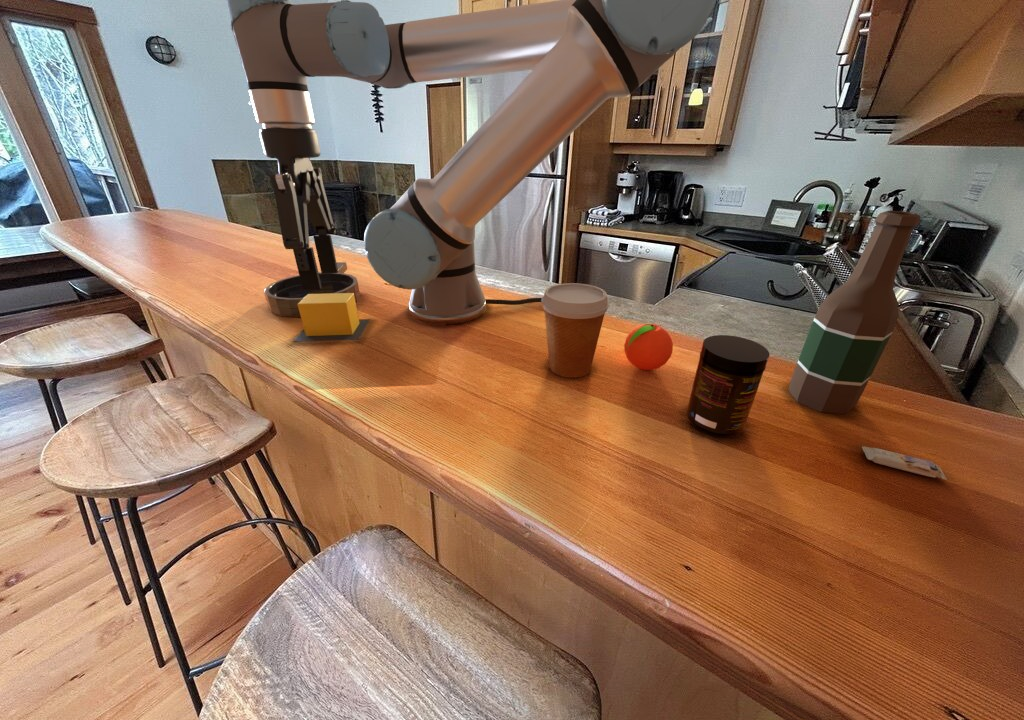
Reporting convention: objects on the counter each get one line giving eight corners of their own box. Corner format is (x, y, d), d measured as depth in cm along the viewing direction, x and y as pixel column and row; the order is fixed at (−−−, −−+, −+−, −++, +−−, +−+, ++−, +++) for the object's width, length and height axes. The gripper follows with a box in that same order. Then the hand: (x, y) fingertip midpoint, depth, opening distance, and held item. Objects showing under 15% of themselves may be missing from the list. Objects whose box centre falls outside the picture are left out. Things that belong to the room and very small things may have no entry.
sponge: (359, 323, 77) (353, 292, 74) (352, 334, 72) (346, 302, 69) (315, 324, 76) (307, 293, 73) (305, 336, 72) (297, 303, 69)
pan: (368, 289, 95) (365, 271, 93) (348, 318, 80) (343, 298, 78) (290, 291, 94) (285, 273, 92) (254, 321, 79) (247, 300, 77)
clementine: (641, 385, 58) (649, 340, 55) (606, 365, 64) (612, 323, 60) (678, 370, 62) (687, 327, 59) (643, 352, 67) (650, 312, 64)
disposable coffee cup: (582, 391, 57) (590, 310, 51) (526, 370, 62) (528, 294, 56) (612, 364, 64) (622, 290, 58) (559, 347, 69) (563, 278, 63)
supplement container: (750, 420, 51) (776, 346, 46) (735, 448, 47) (761, 368, 42) (695, 401, 55) (713, 330, 50) (676, 424, 51) (694, 349, 46)
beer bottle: (858, 423, 51) (959, 221, 39) (785, 404, 54) (859, 214, 43) (852, 393, 57) (940, 210, 45) (787, 378, 60) (852, 205, 49)
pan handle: (347, 269, 104) (346, 262, 103) (334, 282, 94) (332, 275, 93) (336, 269, 103) (335, 262, 103) (322, 283, 94) (320, 275, 93)
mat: (370, 321, 79) (370, 319, 78) (359, 342, 71) (358, 339, 71) (311, 323, 78) (311, 320, 78) (293, 344, 70) (292, 341, 70)
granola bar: (863, 462, 44) (867, 455, 44) (859, 449, 46) (863, 442, 46) (945, 483, 42) (950, 476, 41) (937, 469, 44) (942, 461, 43)
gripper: (289, 128, 68) (319, 263, 79) (219, 125, 50) (271, 302, 61) (336, 128, 69) (359, 263, 79) (283, 125, 50) (324, 301, 61)
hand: (321, 280), depth 70 cm, fingers open, 8 cm apart
